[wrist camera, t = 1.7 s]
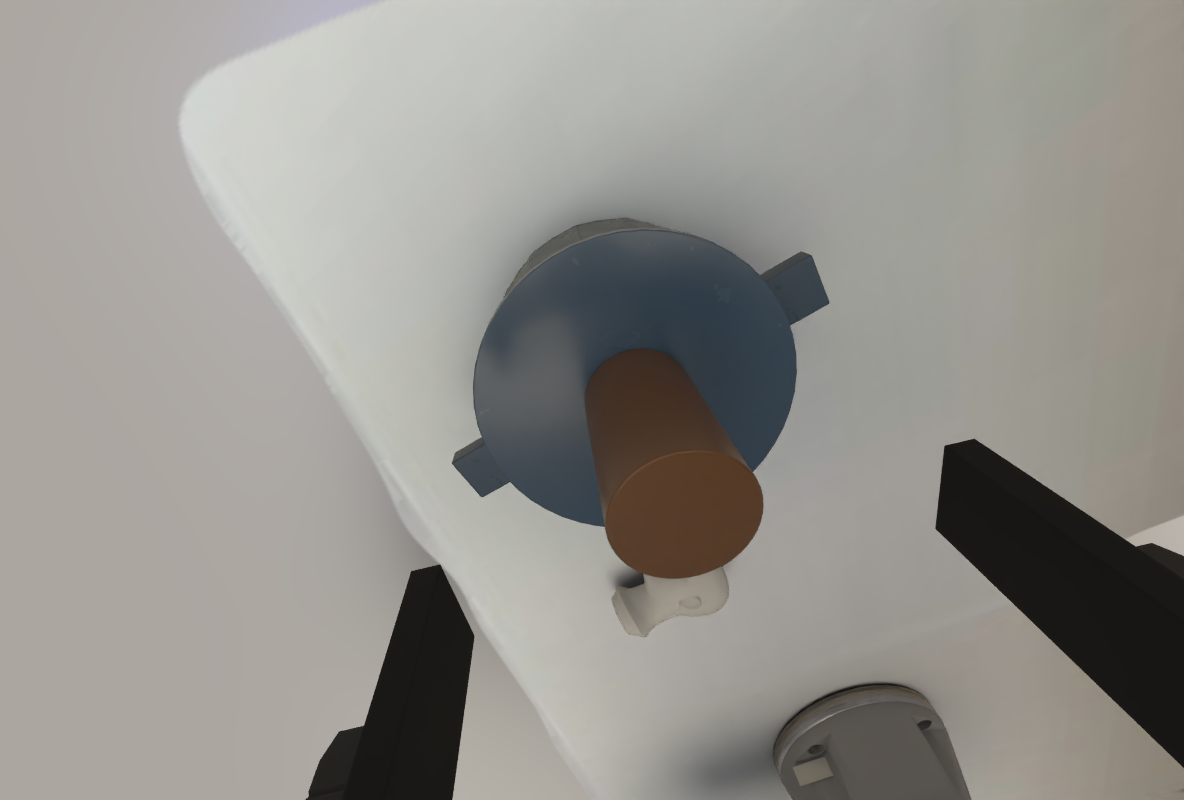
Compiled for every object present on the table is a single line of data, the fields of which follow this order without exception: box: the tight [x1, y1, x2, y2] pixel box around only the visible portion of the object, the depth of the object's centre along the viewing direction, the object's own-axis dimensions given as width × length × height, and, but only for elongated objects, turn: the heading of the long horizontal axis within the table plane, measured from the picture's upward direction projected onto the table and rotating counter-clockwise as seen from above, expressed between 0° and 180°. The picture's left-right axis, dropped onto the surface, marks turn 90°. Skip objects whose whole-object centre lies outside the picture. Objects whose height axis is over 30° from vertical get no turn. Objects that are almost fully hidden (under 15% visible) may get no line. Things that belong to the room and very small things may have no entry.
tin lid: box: [473, 228, 797, 579], centre depth 19 cm, size 14×14×9 cm
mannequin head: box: [612, 566, 729, 637], centre depth 35 cm, size 4×8×5 cm
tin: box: [452, 218, 829, 497], centre depth 26 cm, size 13×18×8 cm
